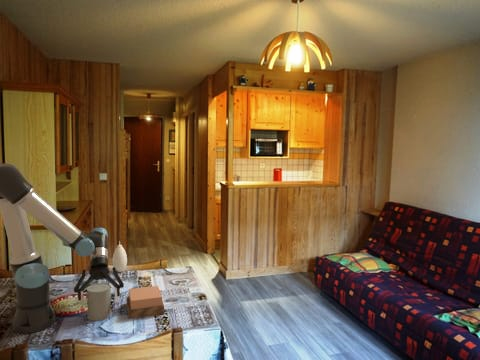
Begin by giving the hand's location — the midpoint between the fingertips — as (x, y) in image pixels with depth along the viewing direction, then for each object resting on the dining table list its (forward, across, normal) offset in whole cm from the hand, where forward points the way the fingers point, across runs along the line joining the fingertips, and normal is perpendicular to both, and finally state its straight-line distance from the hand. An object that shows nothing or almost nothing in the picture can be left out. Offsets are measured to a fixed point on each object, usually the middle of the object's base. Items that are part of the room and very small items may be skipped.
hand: (99, 305), depth 155 cm
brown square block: (0, -19, -3) cm, 19 cm away
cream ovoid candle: (-34, -10, -42) cm, 55 cm away
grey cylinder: (+2, 0, -5) cm, 6 cm away
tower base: (+2, -19, -6) cm, 20 cm away
